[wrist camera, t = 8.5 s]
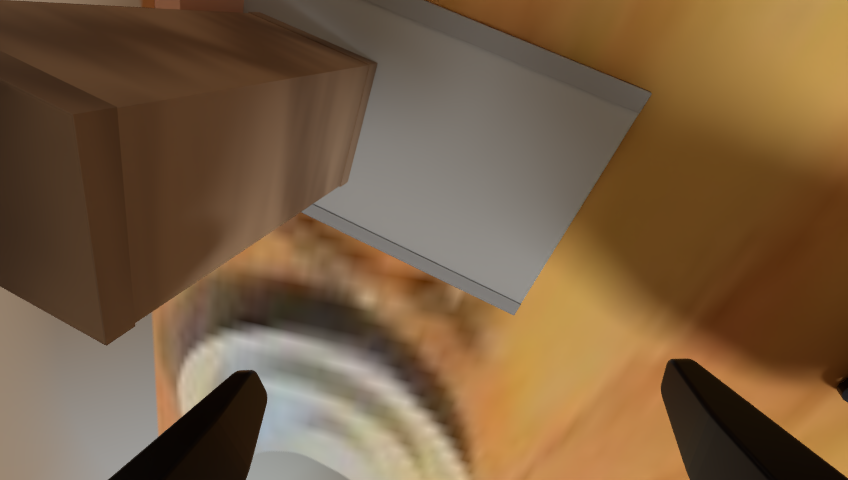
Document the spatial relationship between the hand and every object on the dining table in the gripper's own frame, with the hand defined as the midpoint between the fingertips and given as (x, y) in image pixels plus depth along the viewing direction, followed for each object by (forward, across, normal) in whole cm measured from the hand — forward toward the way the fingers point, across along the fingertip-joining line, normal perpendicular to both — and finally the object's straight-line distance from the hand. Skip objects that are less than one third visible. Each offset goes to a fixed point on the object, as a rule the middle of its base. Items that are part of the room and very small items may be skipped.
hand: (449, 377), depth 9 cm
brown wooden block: (+14, +7, -3) cm, 16 cm away
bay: (+13, +3, -1) cm, 14 cm away
